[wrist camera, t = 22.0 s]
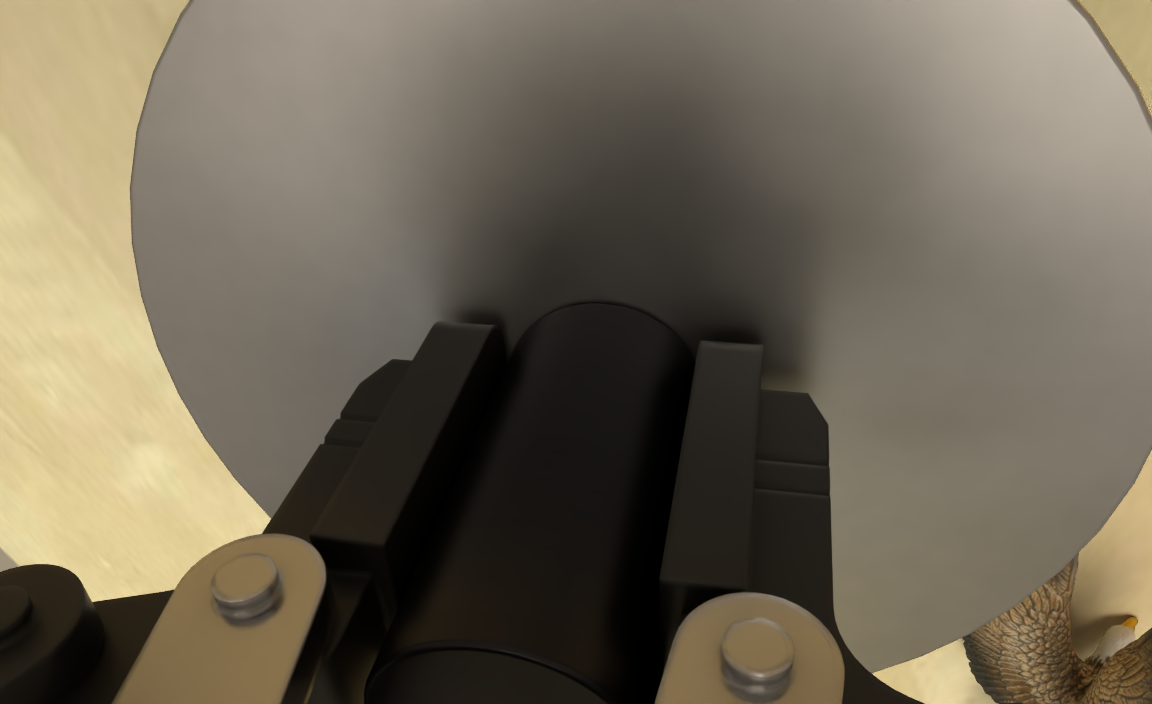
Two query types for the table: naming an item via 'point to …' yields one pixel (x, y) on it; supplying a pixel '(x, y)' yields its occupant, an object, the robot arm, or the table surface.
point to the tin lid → (665, 289)
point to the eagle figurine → (1058, 654)
